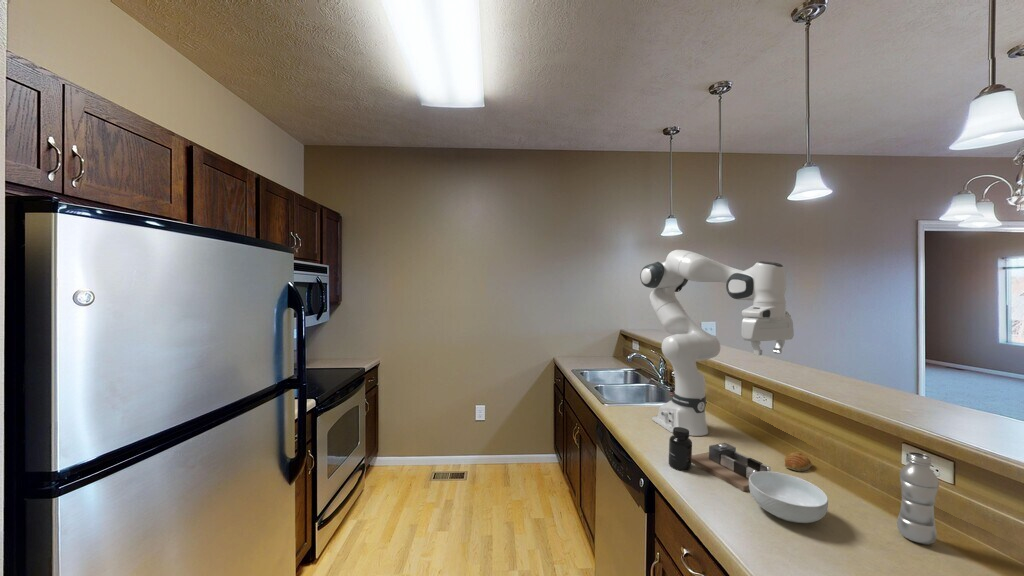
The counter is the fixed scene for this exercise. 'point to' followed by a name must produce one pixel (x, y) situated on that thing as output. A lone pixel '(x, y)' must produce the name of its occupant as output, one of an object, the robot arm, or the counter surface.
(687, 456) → the supplement bottle
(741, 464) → the fixed tong arm
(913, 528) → the plastic bottle
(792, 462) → the pastry
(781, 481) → the cereal bowl
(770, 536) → the counter surface
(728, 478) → the walnut board
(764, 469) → the loose tong arm
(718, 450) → the tong hinge
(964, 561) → the counter surface
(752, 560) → the counter surface
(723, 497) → the counter surface
